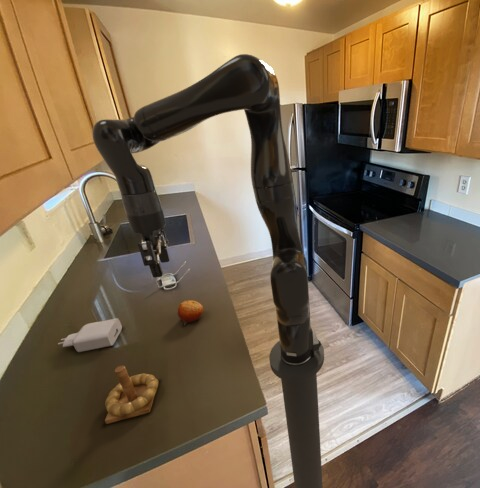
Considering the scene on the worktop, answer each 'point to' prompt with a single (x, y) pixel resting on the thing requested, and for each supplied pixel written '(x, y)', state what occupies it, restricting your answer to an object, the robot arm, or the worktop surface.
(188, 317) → the fruit
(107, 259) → the worktop surface
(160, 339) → the worktop surface
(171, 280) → the wall mount rack
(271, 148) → the robot arm
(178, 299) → the worktop surface
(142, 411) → the wooden peg stand
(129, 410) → the ring
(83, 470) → the worktop surface
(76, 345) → the charger
